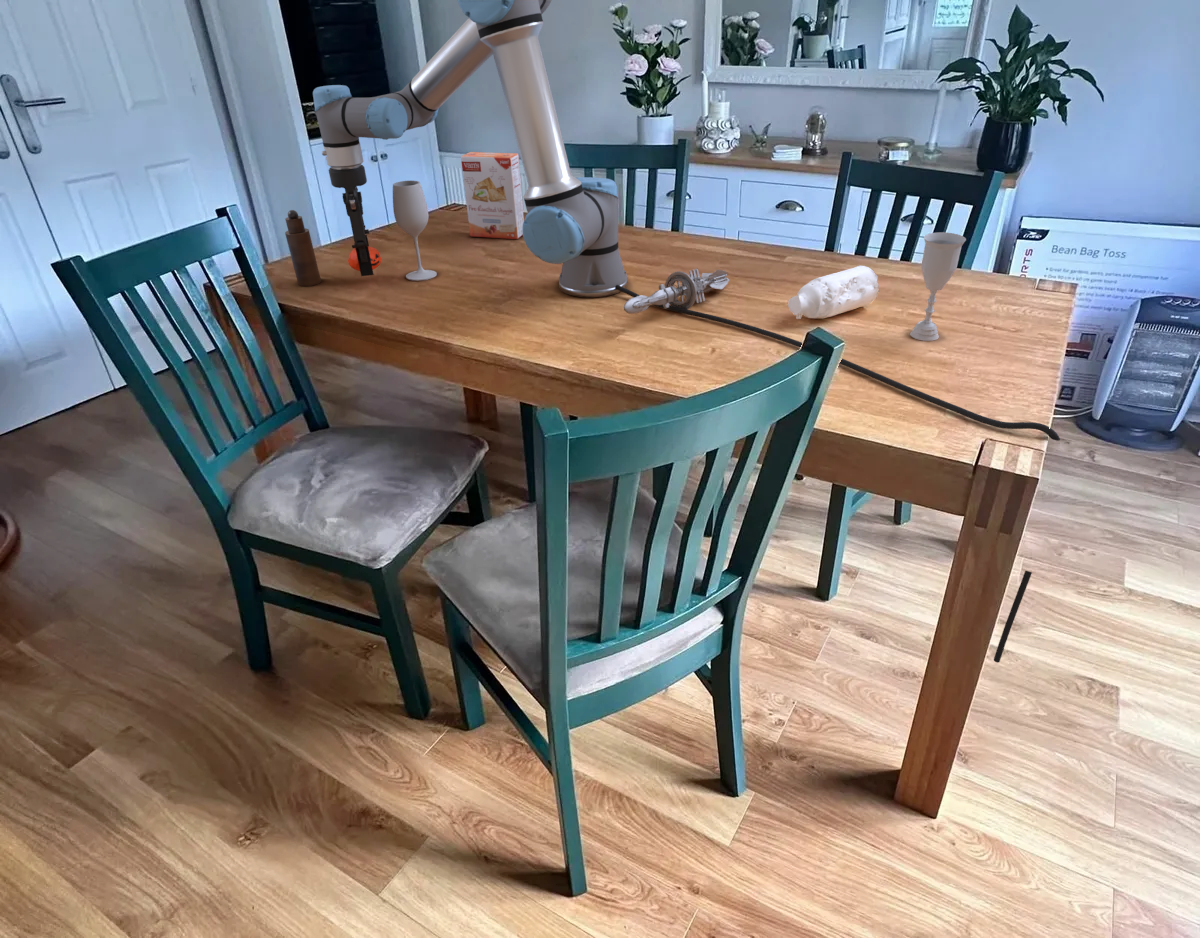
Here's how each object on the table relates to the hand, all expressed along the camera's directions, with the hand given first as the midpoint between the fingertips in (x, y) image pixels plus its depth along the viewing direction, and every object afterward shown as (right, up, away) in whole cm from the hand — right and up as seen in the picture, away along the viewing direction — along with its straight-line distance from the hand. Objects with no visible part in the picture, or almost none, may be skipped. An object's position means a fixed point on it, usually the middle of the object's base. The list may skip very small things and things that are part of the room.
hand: (366, 269), depth 177 cm
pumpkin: (0, 0, 0) cm, 1 cm away
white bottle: (+100, -16, -25) cm, 105 cm away
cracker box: (+26, +17, +30) cm, 43 cm away
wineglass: (+12, -1, +4) cm, 12 cm away
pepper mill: (-14, -2, +3) cm, 15 cm away
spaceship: (+70, -14, -20) cm, 74 cm away
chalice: (+114, -22, -35) cm, 122 cm away
